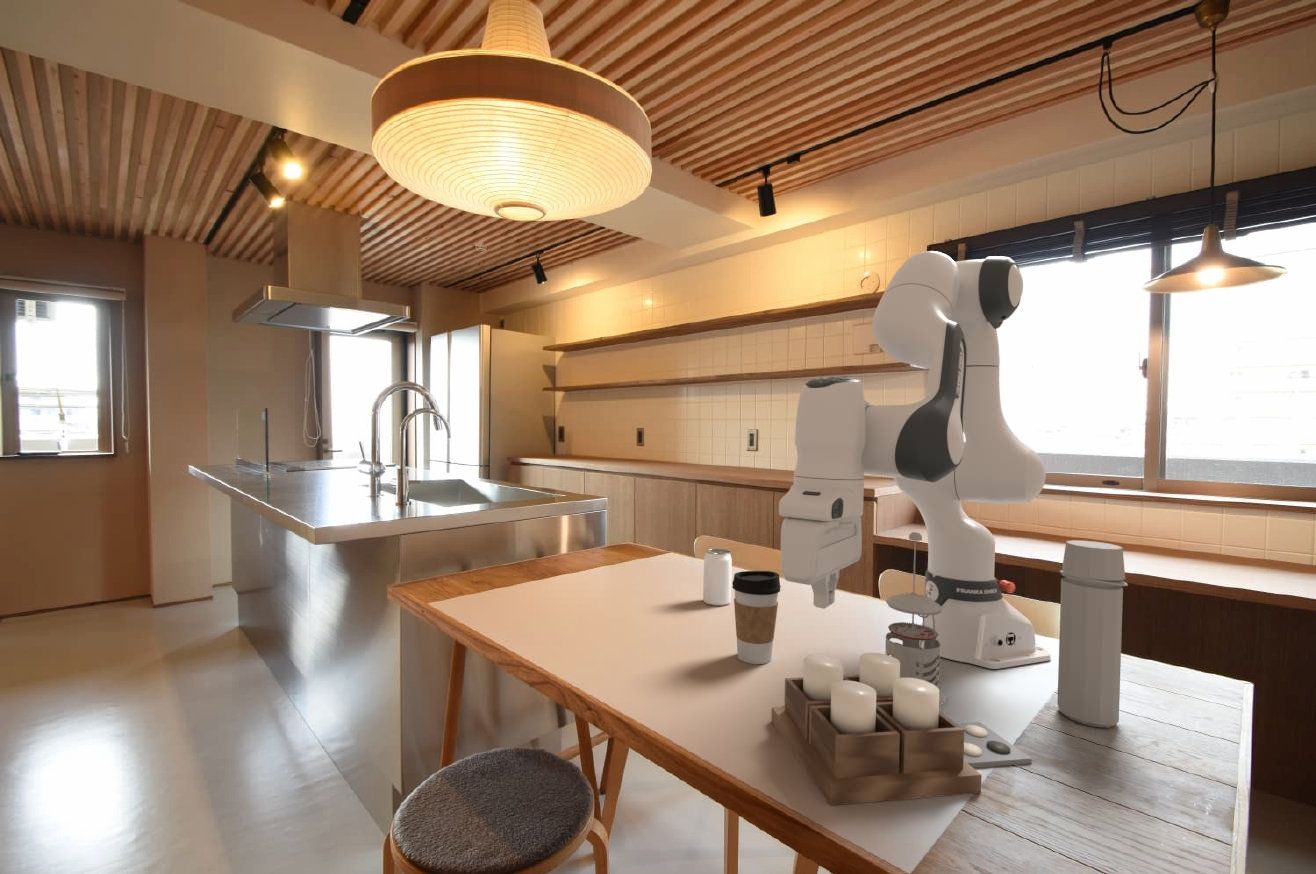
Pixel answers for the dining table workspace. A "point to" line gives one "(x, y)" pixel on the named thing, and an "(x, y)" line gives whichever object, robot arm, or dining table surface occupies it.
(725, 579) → the can
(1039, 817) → the dining table surface
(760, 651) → the coffee cup
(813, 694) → the button
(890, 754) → the button board
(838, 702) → the button
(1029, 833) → the dining table surface
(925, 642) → the french press
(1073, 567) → the water bottle
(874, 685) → the button
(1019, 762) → the pattern card
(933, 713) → the button
